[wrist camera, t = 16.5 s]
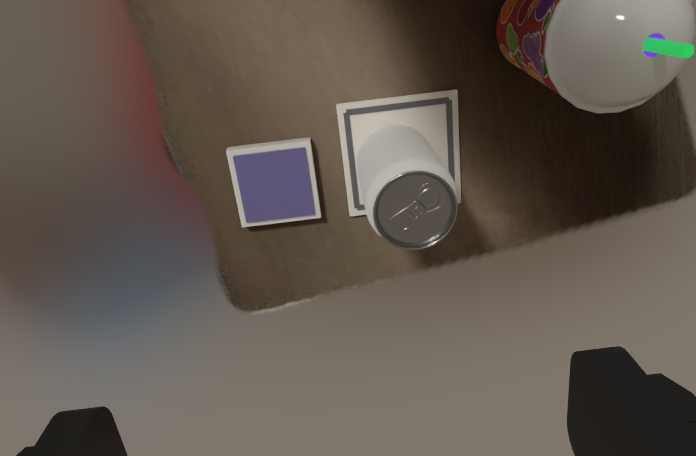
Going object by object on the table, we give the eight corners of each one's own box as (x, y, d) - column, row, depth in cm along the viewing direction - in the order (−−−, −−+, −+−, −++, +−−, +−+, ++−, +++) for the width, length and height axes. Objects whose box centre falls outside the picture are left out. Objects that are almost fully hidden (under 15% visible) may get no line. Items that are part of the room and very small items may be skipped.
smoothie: (595, 54, 45) (785, 101, 26) (496, 93, 46) (614, 165, 27) (574, -53, 41) (773, -85, 23) (468, -9, 42) (579, -5, 24)
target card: (336, 103, 45) (336, 104, 45) (456, 89, 45) (457, 89, 45) (349, 215, 49) (349, 216, 49) (460, 201, 49) (461, 203, 49)
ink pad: (227, 147, 46) (225, 151, 45) (310, 137, 46) (309, 140, 45) (243, 222, 49) (241, 228, 48) (321, 213, 49) (321, 218, 48)
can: (446, 160, 47) (484, 212, 36) (390, 209, 49) (411, 273, 38) (396, 105, 45) (420, 143, 34) (340, 159, 47) (346, 211, 36)
